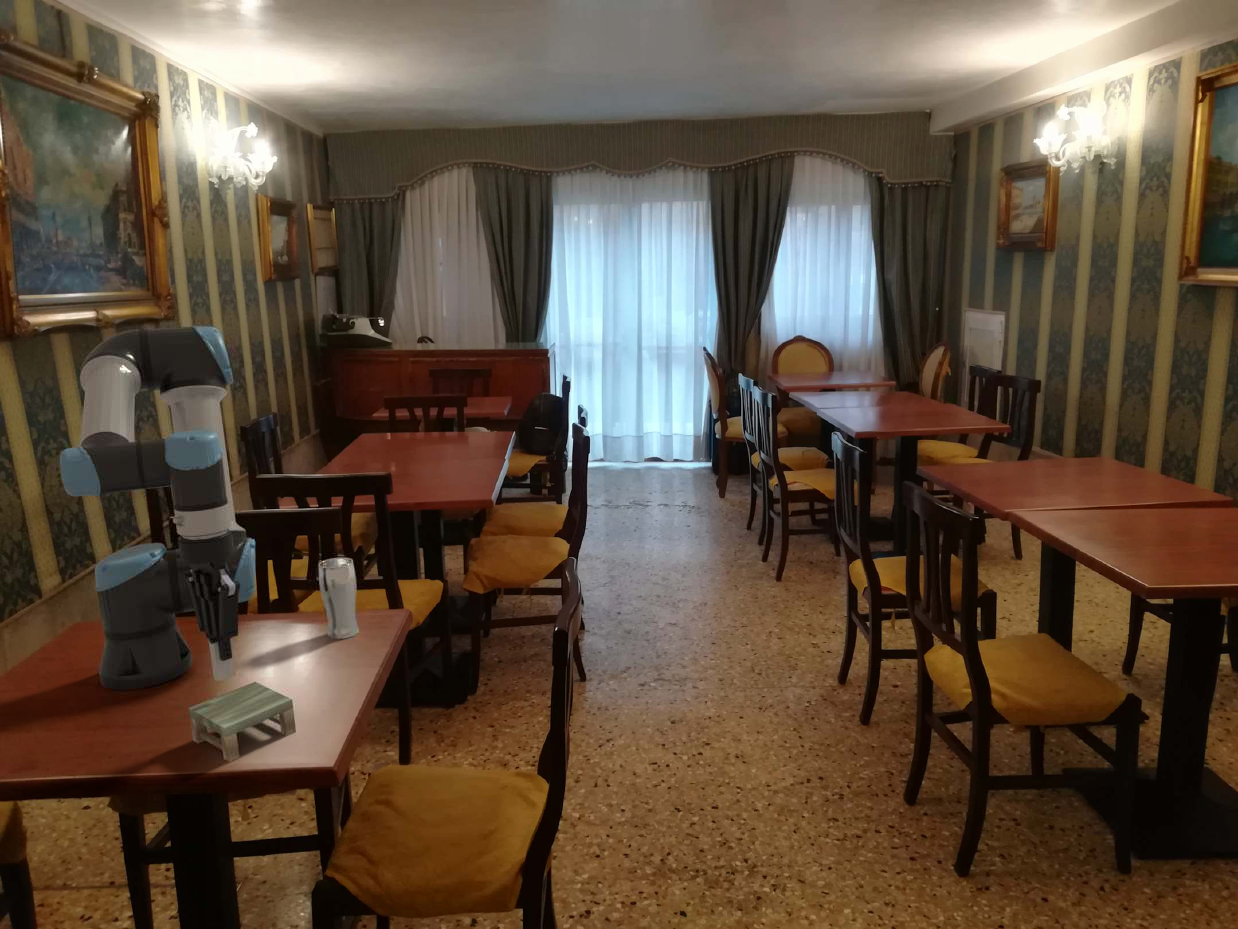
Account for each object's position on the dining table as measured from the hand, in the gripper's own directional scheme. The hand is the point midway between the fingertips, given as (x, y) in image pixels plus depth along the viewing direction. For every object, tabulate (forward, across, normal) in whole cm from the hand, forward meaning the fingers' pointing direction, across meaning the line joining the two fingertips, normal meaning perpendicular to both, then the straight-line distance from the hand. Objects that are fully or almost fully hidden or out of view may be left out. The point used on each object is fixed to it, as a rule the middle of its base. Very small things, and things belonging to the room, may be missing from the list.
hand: (224, 677), depth 140 cm
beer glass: (+9, -19, +34) cm, 40 cm away
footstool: (+6, -2, 0) cm, 6 cm away
